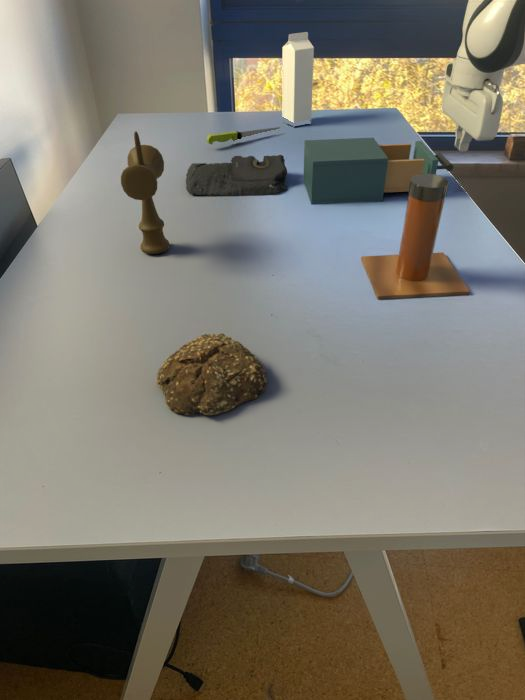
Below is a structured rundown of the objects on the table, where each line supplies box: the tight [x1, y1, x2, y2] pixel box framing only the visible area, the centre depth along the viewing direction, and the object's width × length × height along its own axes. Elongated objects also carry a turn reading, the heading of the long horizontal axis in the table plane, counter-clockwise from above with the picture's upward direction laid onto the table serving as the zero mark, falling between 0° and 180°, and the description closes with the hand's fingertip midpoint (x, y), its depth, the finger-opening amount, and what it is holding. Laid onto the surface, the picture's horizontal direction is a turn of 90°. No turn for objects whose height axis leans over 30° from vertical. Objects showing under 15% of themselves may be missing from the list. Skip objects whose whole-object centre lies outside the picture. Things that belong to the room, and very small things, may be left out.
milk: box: [281, 31, 315, 123], centre depth 139 cm, size 6×6×22 cm
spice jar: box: [396, 174, 450, 281], centre depth 77 cm, size 5×5×15 cm
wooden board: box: [360, 252, 471, 300], centre depth 82 cm, size 14×12×1 cm
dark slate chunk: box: [185, 154, 288, 196], centre depth 112 cm, size 15×22×5 cm
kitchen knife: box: [206, 126, 281, 145], centre depth 134 cm, size 22×1×3 cm, turn 124°
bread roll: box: [155, 333, 267, 416], centre depth 63 cm, size 13×12×5 cm
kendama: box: [120, 130, 170, 255], centre depth 84 cm, size 6×10×20 cm, turn 3°
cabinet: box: [302, 137, 388, 205], centre depth 106 cm, size 15×13×9 cm
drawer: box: [378, 140, 454, 194], centre depth 107 cm, size 18×11×7 cm, turn 94°
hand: (460, 149), depth 105 cm, fingers closed
